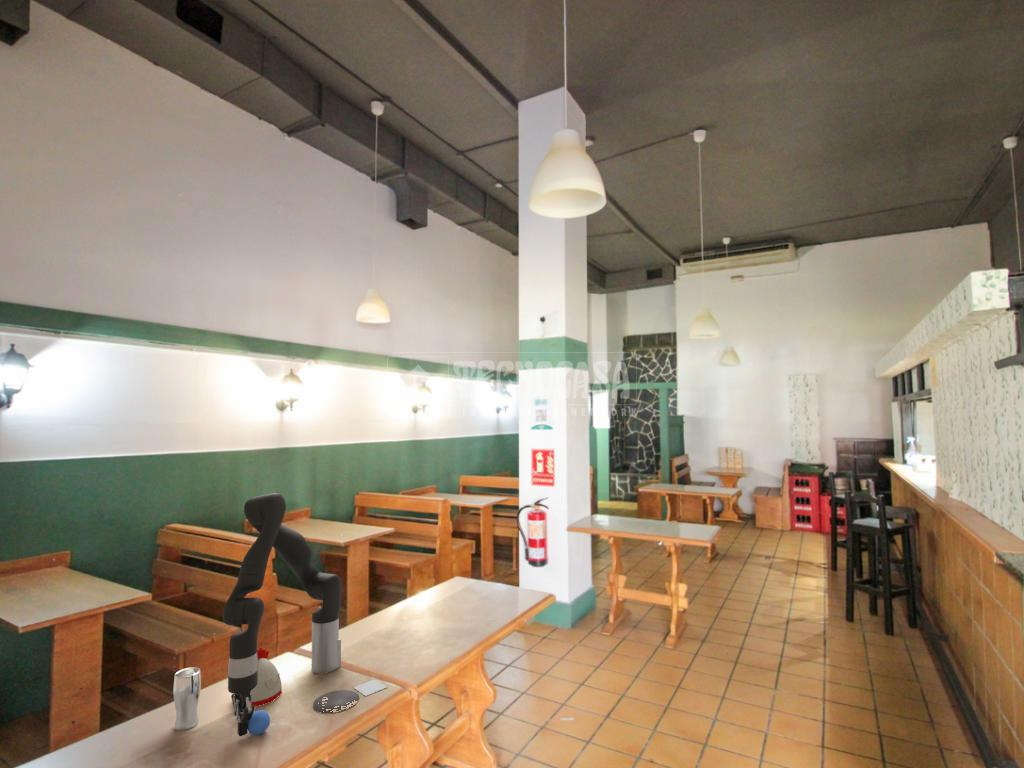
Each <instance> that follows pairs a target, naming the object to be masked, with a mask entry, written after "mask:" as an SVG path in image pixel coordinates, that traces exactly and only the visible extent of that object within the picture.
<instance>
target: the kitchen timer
mask: <svg viewBox="0 0 1024 768" xmlns="http://www.w3.org/2000/svg"><path fill="white" fill-rule="evenodd" d="M269 653H270V651H269V650H266V649H263V648H262V647H259V649H257V657H258V684H257V686H256V687H255V688H253V689H252V690H251V694H252V701H251V706H253V705H254V706H257V707H260V706H259V705H261V706H264V705H263V704H265V705H267V704H269V703H268V702H270V703H272V702H274V701H275V700H277V699H278V698H279V697H280V696H281V695H282V690H283V689H282V688H283V687H282V678H281V675H280V673H279V670H278V669H277V667H276V665H274V663H273V662H272V661H270V660H269V659H268V656H269ZM280 694H281V695H280ZM278 696H279V697H278ZM277 697H278V698H277ZM276 698H277V699H276ZM274 699H275V700H274ZM273 700H274V701H273ZM271 701H272V702H271ZM266 703H267V704H266Z"/></svg>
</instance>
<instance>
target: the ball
mask: <svg viewBox="0 0 1024 768" xmlns="http://www.w3.org/2000/svg"><path fill="white" fill-rule="evenodd" d="M270 723H271V716H270V714H269V712H267V711H266V710H263V709H259V710H255V711H254V712H253V715H252V718H251V720H249V721H248V728H247V732H249V733H250V734H251V735H254V736H258V735H261V734H264V733H265V732H266V731H267V730H268V728H269V726H270Z"/></svg>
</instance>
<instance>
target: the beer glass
mask: <svg viewBox="0 0 1024 768" xmlns="http://www.w3.org/2000/svg"><path fill="white" fill-rule="evenodd" d="M201 676H202V675H201V668H199V667H186V668H183V669H181V670H179V671H177V672H176V673H175V674H174V678H173V679H174V681H173V689H172V690H173V691H172V692H173V701H174V707H175V713H176V714H175V715H176V717H175V722H174V730H175V731H179V732H181V731H188V730H189V729H190V730H191V729H192V728H194V727H195V726H197V725H198V724H199V717H198V705H199V700H200V695H201V688H202V687H201V686H202V677H201Z"/></svg>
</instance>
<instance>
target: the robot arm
mask: <svg viewBox="0 0 1024 768" xmlns="http://www.w3.org/2000/svg"><path fill="white" fill-rule="evenodd" d="M286 508H287V503H286V500H285V497H284V496H283V495H282V494H281V493H277V492H273V493H266V494H261V495H258V496H257V495H256V496H253V497H250V498H249V499H247V500H246V501H245V503H244V507H243V512H244V516H245V518H246V519H247V521H248V523H249V524H250V525H251V526H252V527H253V528H254V529H255V530H256V532H258V533H259V534H258V536H257V538H256V540H255V541H254V542H253V544H252V545H251V546H250V547H249V549H248V550H247V552H246V554H245V555H244V557H243V559H242V562H241V566H240V569H239V573H238V577H237V582H236V583H235V586H234V588H233V589H232V592H231V594H230V595H229V596H228V599H227V600H226V603H225V604H224V605H223V606H224V607H223V610H222V616H221V617H222V620H223V622H224V624H225V625H228V626H236V625H238V626H239V625H240V626H241V625H247V629H243V630H240V631H237V632H234V633H233V634H232V635H231V636H230V638H229V655H228V656H229V657H228V664H227V665H228V668H227V672H228V673H227V691H228V692H229V693H230V694H231V696H230V697H231V703H232V707H233V713H234V714H233V715H234V717H236V720H235V721H236V722H237V730H236V733H237V735H238V737H243V736H245V735H247V734H248V729H247V728H248V721H249V720H251V718H252V715H253V713H254V712H255V711H256V710H255V709H256V707H255V706H254V705H253V706H251V701H252V694H251V690H252V689H253V688H255V687H256V686H257V684H258V657H257V650H258V637H259V636H258V634H259V629H260V625H261V622H262V619H263V616H264V612H265V603H264V601H263V600H262V598H261V597H254V596H253V597H246V596H247V595H248V594H251V593H254V592H256V591H259V590H261V589H262V588H263V585H264V580H265V575H266V571H267V567H268V562H269V558H270V556H271V555H270V554H271V552H272V549H274V550H275V551H276V553H277V554H278V555H279V556H280V558H281V559H282V560H283V562H284V563H285V565H287V566H288V567H289V569H291V571H292V573H293V574H294V575H295V576H296V577H297V579H298V581H300V583H301V586H302V587H303V589H304V590H305V593H307V595H308V596H309V598H311V599H313V600H315V601H316V600H318V601H322V603H321V604H322V605H321V607H320V608H317V609H315V610H314V611H313V612H312V613H311V672H312V673H313V674H321V675H323V674H328V673H332V672H334V671H335V670H337V669H338V668H340V667H342V639H341V638H340V637H339V636H340V635H339V634H340V633H339V632H340V631H339V628H340V627H339V626H340V625H339V624H340V621H339V618H340V617H339V616H340V612H341V611H340V610H341V607H342V604H341V603H342V591H343V590H342V589H343V587H342V585H343V584H342V579H341V577H340V576H339V575H338V574H336V573H335V574H334V573H327V572H321V571H319V570H318V568H317V567H316V566H315V564H314V563H313V559H314V558H313V557H314V555H313V554H314V553H313V549H312V546H311V545H310V543H309V542H308V541H307V540H306V538H305V537H304V536H303V535H302V534H301V533H300V532H298V531H296V530H294V529H292V528H290V527H288V526H286V525H284V524H282V523H283V521H284V518H285V514H286V511H287V510H286Z"/></svg>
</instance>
